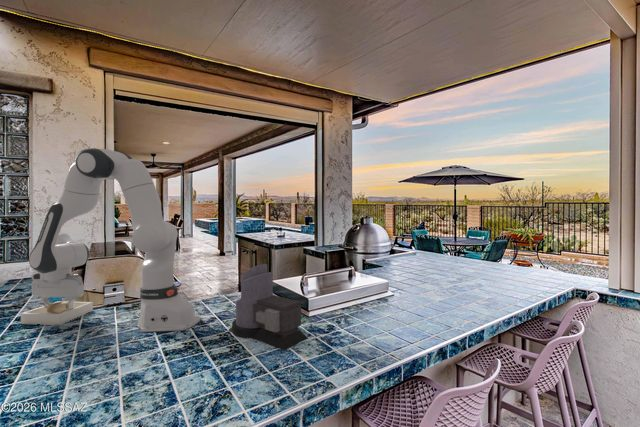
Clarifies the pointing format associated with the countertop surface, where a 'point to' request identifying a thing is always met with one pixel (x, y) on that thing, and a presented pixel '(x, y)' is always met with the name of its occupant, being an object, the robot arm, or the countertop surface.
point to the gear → (54, 299)
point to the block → (57, 307)
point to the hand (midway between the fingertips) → (58, 307)
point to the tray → (43, 318)
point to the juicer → (266, 312)
